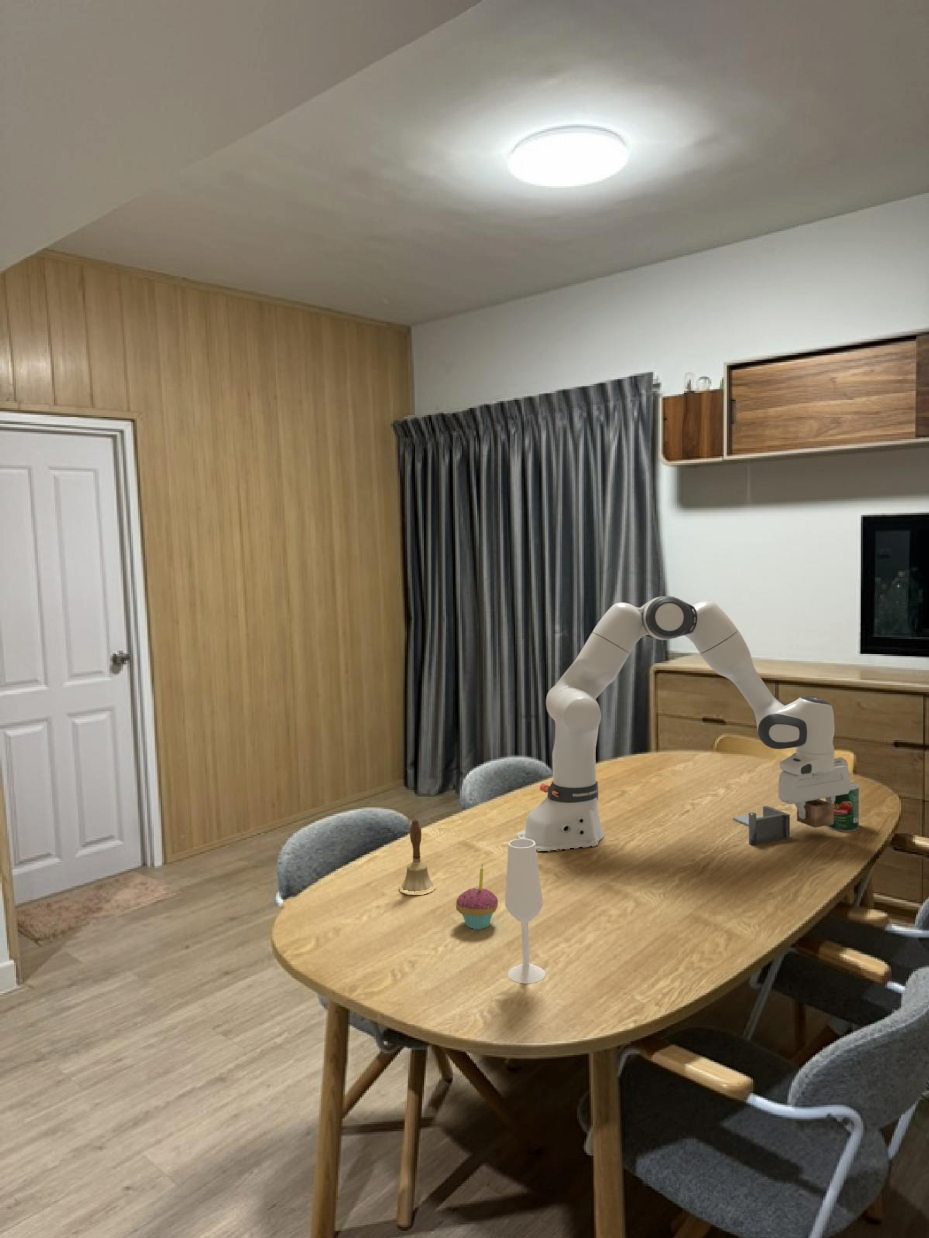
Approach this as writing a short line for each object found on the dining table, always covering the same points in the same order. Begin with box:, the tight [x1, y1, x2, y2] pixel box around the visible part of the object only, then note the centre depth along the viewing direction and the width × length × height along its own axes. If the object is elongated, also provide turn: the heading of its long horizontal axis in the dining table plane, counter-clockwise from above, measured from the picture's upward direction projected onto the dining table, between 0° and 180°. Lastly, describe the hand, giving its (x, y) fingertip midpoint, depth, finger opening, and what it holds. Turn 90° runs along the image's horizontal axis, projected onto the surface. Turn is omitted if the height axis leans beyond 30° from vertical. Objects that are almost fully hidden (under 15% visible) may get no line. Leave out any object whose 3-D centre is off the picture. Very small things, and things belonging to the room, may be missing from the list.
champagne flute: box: [504, 838, 546, 985], centre depth 151 cm, size 7×7×24 cm
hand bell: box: [400, 818, 434, 892], centre depth 191 cm, size 8×8×16 cm
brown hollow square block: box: [796, 799, 834, 829], centre depth 213 cm, size 6×6×5 cm
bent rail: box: [748, 805, 791, 846], centre depth 215 cm, size 12×8×8 cm
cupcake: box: [455, 863, 499, 930], centre depth 172 cm, size 9×8×12 cm
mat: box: [732, 814, 762, 828], centre depth 227 cm, size 7×7×1 cm
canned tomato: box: [825, 781, 860, 832], centre depth 220 cm, size 8×8×11 cm
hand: (815, 815), depth 213 cm, fingers closed on brown hollow square block, 6 cm apart
